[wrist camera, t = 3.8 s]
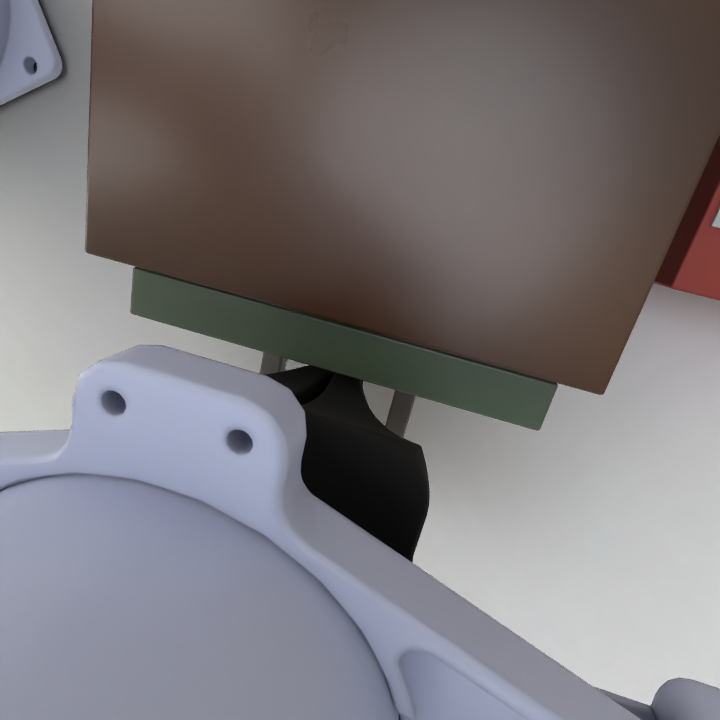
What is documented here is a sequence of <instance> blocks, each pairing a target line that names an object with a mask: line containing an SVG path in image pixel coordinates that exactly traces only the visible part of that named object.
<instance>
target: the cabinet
mask: <svg viewBox="0 0 720 720" xmlns="http://www.w3.org/2000/svg"><path fill="white" fill-rule="evenodd" d="M719 135H720V0H93V7H92V39H91V72H90V105H89V137H88V170H87V203H86V235H85V251H86V252H87V253H89V254H92V255H96V256H99V257H103V258H106V259H110V260H114V261H117V262H121V263H125V264H128V265H132V266H135V267H139V268H143V269H146V270H150V271H154V272H157V273H161V274H164V275H168V276H172V277H175V278H179V279H182V280H186V281H190V282H193V283H197V284H201V285H204V286H208V287H211V288H215V289H219V290H222V291H226V292H229V293H233V294H237V295H240V296H244V297H248V298H251V299H255V300H258V301H262V302H266V303H269V304H273V305H276V306H280V307H284V308H287V309H291V310H295V311H298V312H302V313H305V314H309V315H313V316H316V317H320V318H323V319H327V320H331V321H334V322H338V323H342V324H345V325H349V326H352V327H356V328H360V329H363V330H367V331H370V332H374V333H378V334H381V335H385V336H389V337H392V338H396V339H399V340H403V341H407V342H410V343H414V344H417V345H421V346H425V347H428V348H432V349H436V350H439V351H443V352H446V353H450V354H454V355H457V356H461V357H465V358H468V359H472V360H475V361H479V362H483V363H486V364H490V365H493V366H497V367H501V368H504V369H508V370H512V371H515V372H519V373H522V374H526V375H530V376H533V377H537V378H540V379H544V380H548V381H551V382H555V383H559V384H562V385H566V386H569V387H573V388H577V389H580V390H584V391H587V392H591V393H595V394H598V395H603V394H604V392H605V390H606V388H607V385H608V383H609V381H610V379H611V376H612V374H613V372H614V370H615V368H616V365H617V363H618V361H619V359H620V356H621V354H622V352H623V350H624V347H625V345H626V343H627V341H628V339H629V336H630V334H631V332H632V330H633V327H634V325H635V323H636V321H637V318H638V316H639V314H640V312H641V309H642V307H643V305H644V303H645V301H646V298H647V296H648V294H649V292H650V289H651V287H652V285H653V283H654V280H655V278H656V276H657V274H658V271H659V269H660V267H661V265H662V263H663V260H664V258H665V256H666V254H667V251H668V249H669V247H670V245H671V242H672V240H673V238H674V236H675V233H676V231H677V229H678V227H679V225H680V222H681V220H682V218H683V216H684V213H685V211H686V209H687V207H688V204H689V202H690V200H691V198H692V195H693V193H694V191H695V189H696V187H697V184H698V182H699V180H700V178H701V175H702V173H703V171H704V169H705V166H706V164H707V162H708V160H709V157H710V155H711V153H712V151H713V149H714V146H715V144H716V142H717V140H718V137H719Z"/></svg>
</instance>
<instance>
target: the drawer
mask: <svg viewBox="0 0 720 720" xmlns="http://www.w3.org/2000/svg"><path fill="white" fill-rule="evenodd" d="M130 312H131V314H134V315H138V316H141V317H144V318H148V319H151V320H155V321H158V322H162V323H165V324H169V325H172V326H176V327H179V328H183V329H186V330H190V331H193V332H197V333H200V334H204V335H207V336H210V337H214V338H217V339H221V340H224V341H228V342H231V343H235V344H238V345H242V346H245V347H249V348H252V349H256V350H259V351H263V352H264V353H263V359H262V365H261V370H260V374H262V375H265V374H271V373H277V372H282V371H285V367H286V362H287V359H290V360H294V361H297V362H301V363H304V364H308V365H311V366H315V367H318V368H322V369H325V370H329V371H332V372H335V373H339V374H342V375H346V376H349V377H353V378H356V379H360V380H363V381H367V382H370V383H374V384H377V385H381V386H384V387H388V388H391V389H395V393H394V396H393V400H392V404H391V407H390V411H389V414H388V418H387V421H386V425H385V427H386V428H388V429H389V430H390V431H392V432H393V433H395V434H396V435H398V436H400V437H401V438H403V437H404V434H405V430H406V427H407V423H408V420H409V417H410V413H411V410H412V407H413V403H414V400H415V397H416V396H419V397H422V398H426V399H429V400H433V401H436V402H440V403H443V404H447V405H450V406H454V407H457V408H460V409H464V410H467V411H471V412H474V413H478V414H481V415H485V416H488V417H492V418H495V419H499V420H502V421H506V422H509V423H513V424H516V425H520V426H523V427H526V428H530V429H533V430H540V428H541V426H542V423H543V421H544V418H545V416H546V413H547V411H548V409H549V406H550V404H551V401H552V399H553V396H554V394H555V391H556V389H557V387H558V386H557V383H555V382H551V381H548V380H544V379H540V378H537V377H533V376H530V375H526V374H522V373H519V372H515V371H512V370H508V369H504V368H501V367H497V366H493V365H490V364H486V363H483V362H479V361H475V360H472V359H468V358H465V357H461V356H457V355H454V354H450V353H446V352H443V351H439V350H436V349H432V348H428V347H425V346H421V345H417V344H414V343H410V342H407V341H403V340H399V339H396V338H392V337H389V336H385V335H381V334H378V333H374V332H370V331H367V330H363V329H360V328H356V327H352V326H349V325H345V324H342V323H338V322H334V321H331V320H327V319H323V318H320V317H316V316H313V315H309V314H305V313H302V312H298V311H295V310H291V309H287V308H284V307H280V306H276V305H273V304H269V303H266V302H262V301H258V300H255V299H251V298H248V297H244V296H240V295H237V294H233V293H229V292H226V291H222V290H219V289H215V288H211V287H208V286H204V285H201V284H197V283H193V282H190V281H186V280H182V279H179V278H175V277H172V276H168V275H164V274H161V273H157V272H154V271H150V270H146V269H143V268H139V267H134V269H133V279H132V294H131V309H130Z"/></svg>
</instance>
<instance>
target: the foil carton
mask: <svg viewBox="0 0 720 720" xmlns="http://www.w3.org/2000/svg"><path fill="white" fill-rule="evenodd" d="M654 283H656V284H660V285H663V286H666V287H669V288H672V289H676V290H680V291H684V292H688V293H692V294H696V295H700V296H704V297H708V298H712V299H716V300H720V135H719V137H718V140H717V142H716V144H715V146H714V149H713V151H712V153H711V155H710V157H709V160H708V162H707V164H706V166H705V169H704V171H703V173H702V175H701V178H700V180H699V182H698V184H697V187H696V189H695V191H694V193H693V195H692V198H691V200H690V202H689V204H688V207H687V209H686V211H685V213H684V216H683V218H682V220H681V222H680V225H679V227H678V229H677V231H676V233H675V236H674V238H673V240H672V242H671V245H670V247H669V249H668V251H667V254H666V256H665V258H664V260H663V263H662V265H661V267H660V269H659V271H658V274H657V276H656V278H655V280H654Z"/></svg>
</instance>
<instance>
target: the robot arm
mask: <svg viewBox="0 0 720 720" xmlns="http://www.w3.org/2000/svg"><path fill="white" fill-rule="evenodd" d="M35 62H36V63H37V71H36V72H34V69H33V66H34V63H35ZM61 71H62V60H61V57H60V54H59V52H58V49H57V47H56V44H55V42H54V39H53V37H52V34H51V32H50V29H49V27H48V24H47V22H46V19H45V17H44V14H43V12H42V9H41V7H40V4H39V2H38V0H0V105H2V104H4V103H6V102H8V101H10V100H12V99H14V98H17V97H19V96H21V95H23V94H25V93H27V92H29V91H31V90H33V89H35V88H37V87H39V86H41V85H43V84H45V83H48V82H50V81H52V80H54V79H56V78H57V77H58V76H59V75H60V73H61ZM362 384H363V380H360V379H356V378H353V377H349V376H346V375H342V374H339V373H335V372H332V371H329V370H325V369H322V368H318V367H315V366H311V365H309V366H305V367H301V368H296V369H292V370H288V371H282V372H277V373H271V374H265V375H262V374H258V373H255V372H252V371H248V370H245V369H241V368H238V367H235V366H231V365H228V364H224V363H221V362H218V361H214V360H211V359H207V358H204V357H200V356H197V355H194V354H190V353H187V352H183V351H180V350H177V349H173V348H170V347H166V346H163V345H137V346H134V347H132V348H130V349H127V350H125V351H122V352H120V353H117V354H115V355H113V356H110V357H108V358H105V359H103V360H100V361H98V362H97V363H95V364H94V365H92V366H91V367H90V368H88V369H87V370H85V371H84V372H82V373H81V374H80V375H79V378H78V381H77V384H76V387H75V390H74V394H73V397H72V425H71V429H70V430H43V431H15V432H0V720H720V689H719V688H716V687H713V686H710V685H707V684H704V683H701V682H698V681H695V680H691V679H685V678H675V679H671V680H668V681H667V682H665V683H664V684H663V685H662V686H661V687H660V688H659V690H658V691H657V693H656V694H655V697H654V699H653V702H652V704H651V706H649V705H646V704H643V703H640V702H637V701H634V700H631V699H628V698H626V697H623V696H620V695H617V694H614V693H611V692H608V691H605V690H602V689H599V688H596V687H593V686H591V685H590V684H588V683H587V682H585V681H584V680H583V679H581V678H580V677H578V676H577V675H575V674H574V673H572V672H571V671H569V670H568V669H566V668H565V667H564V666H562V665H561V664H559V663H558V662H556V661H555V660H553V659H552V658H550V657H549V656H547V655H546V654H545V653H543V652H542V651H540V650H539V649H537V648H536V647H534V646H533V645H531V644H530V643H528V642H527V641H526V640H524V639H523V638H521V637H520V636H518V635H517V634H515V633H514V632H512V631H511V630H510V629H508V628H507V627H505V626H504V625H502V624H501V623H499V622H498V621H496V620H495V619H493V618H492V617H491V616H489V615H488V614H486V613H485V612H483V611H482V610H480V609H479V608H477V607H476V606H474V605H473V604H472V603H470V602H469V601H467V600H466V599H464V598H463V597H461V596H460V595H458V594H457V593H456V592H454V591H453V590H451V589H450V588H448V587H447V586H445V585H444V584H442V583H441V582H439V581H438V580H437V579H435V578H434V577H432V576H431V575H429V574H428V573H426V572H425V571H423V570H422V569H421V568H419V567H418V566H416V565H415V564H413V563H412V561H413V555H414V552H415V549H416V546H417V543H418V540H419V537H420V534H421V531H422V528H423V525H424V522H425V519H426V516H427V512H428V507H429V481H428V474H427V468H426V463H425V459H424V454H423V451H422V447H421V446H420V445H418V444H415V443H413V442H411V441H408V440H406V439H403V438H401V437H400V436H398V435H396V434H395V433H393V432H392V431H390V430H389V429H388V428H386V427H385V426H384V425H383V424H382V423H381V422H380V421H379V420H378V419H377V418H376V417H375V416H374V414H373V413H372V411H371V410H370V408H369V406H368V404H367V401H366V398H365V395H364V392H363V386H362Z"/></svg>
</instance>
